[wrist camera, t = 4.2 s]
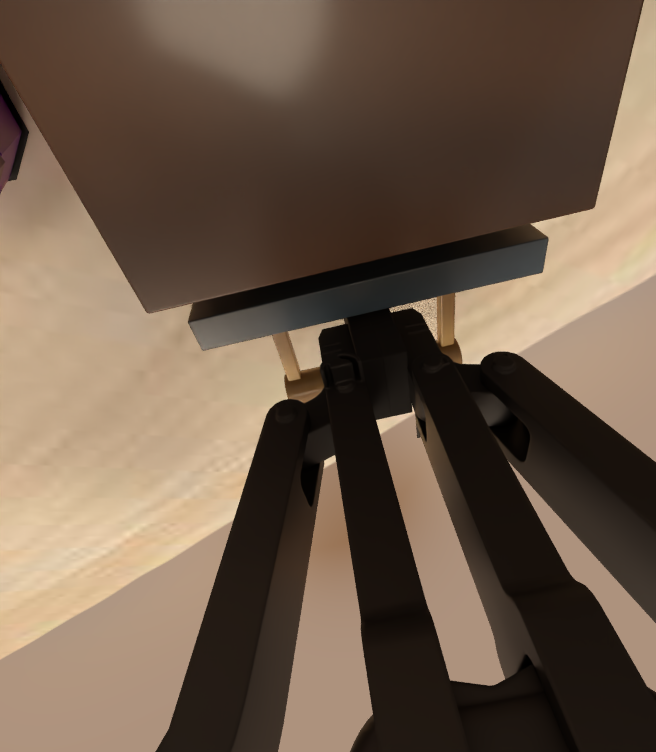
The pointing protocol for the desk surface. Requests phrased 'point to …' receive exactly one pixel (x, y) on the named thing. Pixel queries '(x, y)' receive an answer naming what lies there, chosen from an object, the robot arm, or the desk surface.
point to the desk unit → (315, 125)
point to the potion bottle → (10, 139)
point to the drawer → (368, 296)
